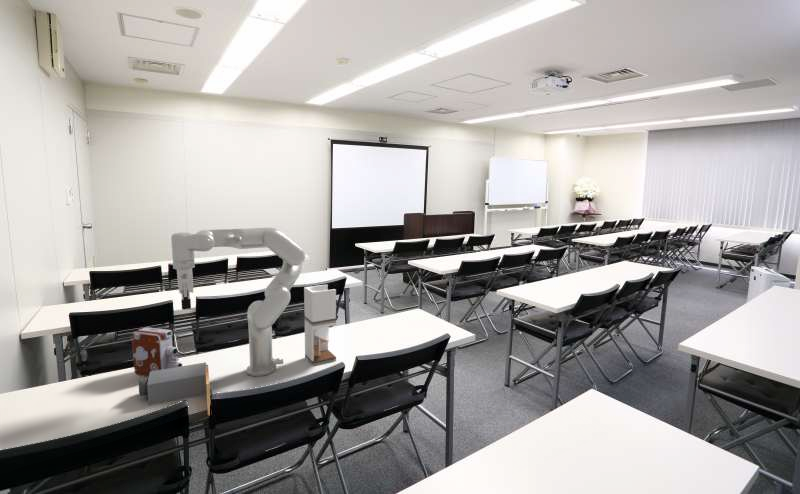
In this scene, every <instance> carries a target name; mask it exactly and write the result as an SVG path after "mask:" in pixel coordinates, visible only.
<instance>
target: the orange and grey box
mask: <svg viewBox="0 0 800 494" xmlns="http://www.w3.org/2000/svg"><path fill="white" fill-rule="evenodd" d="M205 365H207V362H206V361H205V362H201V363H200V362H199V363H193V364H188V365H186V364H185V365H182V366H180V367H174V368H168V369H162V370H156V371H150V374H149V377H148V378H144V379H139V382H138V392H139V397H144V396H147V400H148V402H147V403H148V406H151V405H156V404H162V403H167V402H172V401H176V400H181V399H186V398H191V397H196V396H201V395H207V389H206V370H205Z"/></svg>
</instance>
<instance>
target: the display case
mask: <svg viewBox="0 0 800 494" xmlns="http://www.w3.org/2000/svg"><path fill="white" fill-rule="evenodd" d="M328 287H329V284H320V285H312V286H304V288H303V292H304V293H303V298H304V301H303V302H304V306H303V307H304V358H305V359H306V360H307V361H308V363H309V364H310V365H311V367H315V366H321V365H324V364H328V363H333V362H336V361H337V357H336V355H334V354H333V352H331V351H330V350H329V342H330V327H334V326H336V325H337V289H335V288H333V289H329V288H328Z"/></svg>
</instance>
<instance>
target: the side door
mask: <svg viewBox="0 0 800 494" xmlns="http://www.w3.org/2000/svg"><path fill="white" fill-rule="evenodd" d="M205 370H206V389H207V394H206V403H207V416H211V415H210V405H211V399H210V396H211V394H213V393H214V391H213V386H210V373H209V364H206V365H205Z"/></svg>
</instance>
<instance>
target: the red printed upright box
mask: <svg viewBox="0 0 800 494" xmlns="http://www.w3.org/2000/svg"><path fill="white" fill-rule="evenodd" d="M131 345H132V346H131V347H132V358H133V369H134V374H135V375H136V376H140V377H148V378H149V374H150V371H156V370H162V369H168V368H174V367H180V366H183V364H182V362H179V359H180V358H179V356H176V355H177V354H178V348H177V347H176V346H173V330H171V329H167V328H158V327H149V326H146V327H145V326H144V327H143V328H138V330H135V331H134V332H132V333H131Z"/></svg>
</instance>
